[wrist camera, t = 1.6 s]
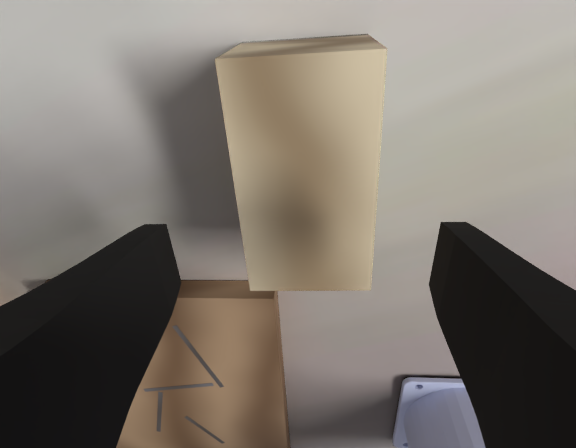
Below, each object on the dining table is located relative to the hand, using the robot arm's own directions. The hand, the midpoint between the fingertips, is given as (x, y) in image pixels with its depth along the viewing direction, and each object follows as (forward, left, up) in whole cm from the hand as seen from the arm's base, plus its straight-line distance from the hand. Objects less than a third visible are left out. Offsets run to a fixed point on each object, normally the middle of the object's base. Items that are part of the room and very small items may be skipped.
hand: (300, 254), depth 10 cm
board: (+9, +18, -8) cm, 22 cm away
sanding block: (0, 0, -9) cm, 9 cm away
